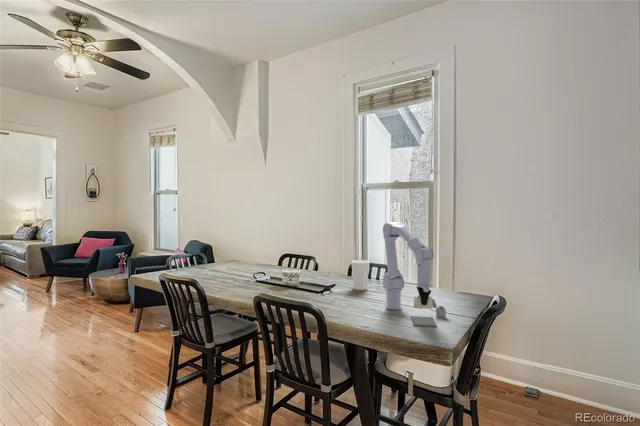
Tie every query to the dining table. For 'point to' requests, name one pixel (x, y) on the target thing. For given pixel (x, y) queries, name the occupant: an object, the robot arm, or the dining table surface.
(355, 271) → the cup
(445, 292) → the dining table surface
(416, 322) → the mat
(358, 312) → the dining table surface
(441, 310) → the lighter
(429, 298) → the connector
